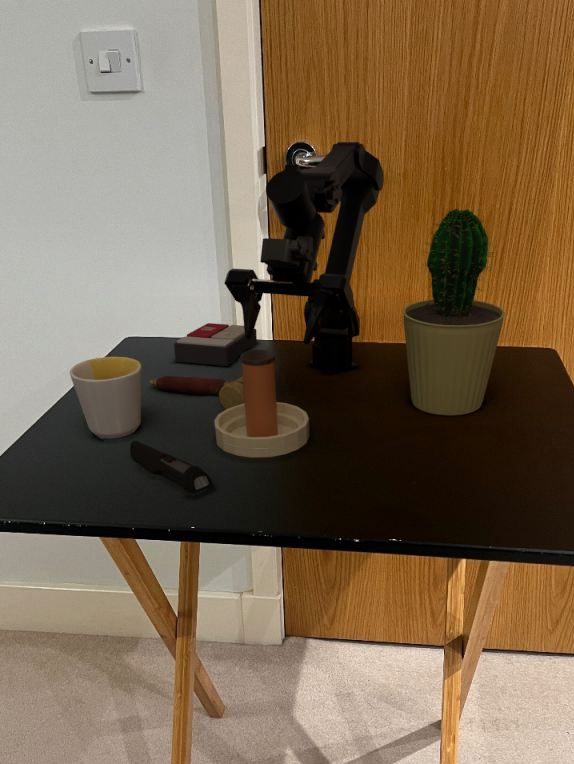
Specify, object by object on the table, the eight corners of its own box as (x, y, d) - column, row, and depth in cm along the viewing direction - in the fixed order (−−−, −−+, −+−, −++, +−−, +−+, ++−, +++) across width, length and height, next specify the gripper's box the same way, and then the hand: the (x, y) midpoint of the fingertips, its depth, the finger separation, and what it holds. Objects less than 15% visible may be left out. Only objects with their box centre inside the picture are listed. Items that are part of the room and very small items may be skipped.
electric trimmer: (147, 455, 109) (144, 435, 108) (215, 488, 100) (213, 466, 98) (125, 464, 107) (121, 443, 106) (192, 498, 97) (189, 476, 96)
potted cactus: (384, 411, 120) (390, 210, 105) (417, 380, 132) (427, 195, 117) (479, 427, 114) (500, 216, 99) (505, 393, 126) (527, 199, 111)
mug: (120, 452, 110) (109, 383, 105) (67, 439, 114) (54, 373, 109) (176, 418, 120) (169, 354, 115) (126, 408, 125) (116, 346, 119)
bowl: (280, 415, 120) (279, 395, 118) (326, 446, 110) (326, 424, 108) (201, 435, 114) (199, 413, 113) (241, 470, 104) (240, 447, 102)
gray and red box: (256, 324, 151) (226, 343, 139) (257, 346, 153) (227, 366, 140) (206, 321, 154) (172, 339, 142) (208, 342, 156) (174, 361, 144)
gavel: (131, 379, 127) (163, 360, 135) (136, 405, 129) (168, 385, 137) (241, 386, 119) (269, 366, 126) (245, 413, 121) (272, 392, 129)
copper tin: (269, 428, 115) (265, 347, 108) (284, 439, 111) (281, 356, 105) (240, 435, 112) (234, 353, 106) (255, 447, 109) (250, 363, 103)
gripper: (224, 211, 110) (197, 307, 106) (348, 215, 104) (323, 316, 101) (249, 256, 120) (225, 345, 117) (363, 262, 114) (341, 355, 111)
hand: (275, 340), depth 111 cm, fingers open, 9 cm apart
